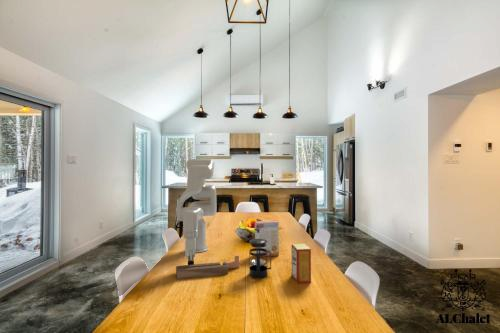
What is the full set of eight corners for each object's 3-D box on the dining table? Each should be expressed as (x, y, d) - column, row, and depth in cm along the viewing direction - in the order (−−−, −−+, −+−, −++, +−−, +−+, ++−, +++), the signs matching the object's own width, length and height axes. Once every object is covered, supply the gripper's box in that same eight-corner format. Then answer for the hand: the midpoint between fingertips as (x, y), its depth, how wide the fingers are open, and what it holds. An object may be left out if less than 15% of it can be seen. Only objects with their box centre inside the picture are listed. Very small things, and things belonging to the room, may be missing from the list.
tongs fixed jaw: (177, 275, 130) (177, 266, 130) (227, 270, 136) (227, 261, 136) (176, 279, 126) (176, 269, 126) (228, 273, 132) (228, 264, 132)
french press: (247, 278, 127) (247, 231, 127) (248, 270, 136) (247, 226, 136) (271, 278, 126) (271, 231, 126) (270, 271, 136) (270, 226, 136)
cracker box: (276, 252, 165) (276, 219, 165) (279, 256, 159) (279, 221, 159) (254, 254, 162) (254, 220, 162) (256, 257, 156) (256, 222, 156)
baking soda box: (291, 275, 130) (291, 243, 130) (304, 274, 131) (304, 242, 131) (297, 283, 121) (297, 248, 121) (310, 282, 122) (310, 248, 122)
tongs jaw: (176, 273, 132) (176, 266, 132) (219, 269, 137) (219, 262, 137) (176, 275, 129) (176, 267, 129) (220, 271, 135) (220, 263, 135)
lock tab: (225, 267, 140) (225, 255, 140) (238, 266, 142) (238, 254, 142) (226, 268, 138) (226, 256, 138) (239, 267, 140) (238, 255, 140)
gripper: (183, 230, 142) (183, 264, 142) (183, 238, 127) (183, 275, 128) (197, 229, 144) (197, 263, 144) (198, 237, 129) (198, 274, 129)
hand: (190, 268), depth 136 cm, fingers closed
